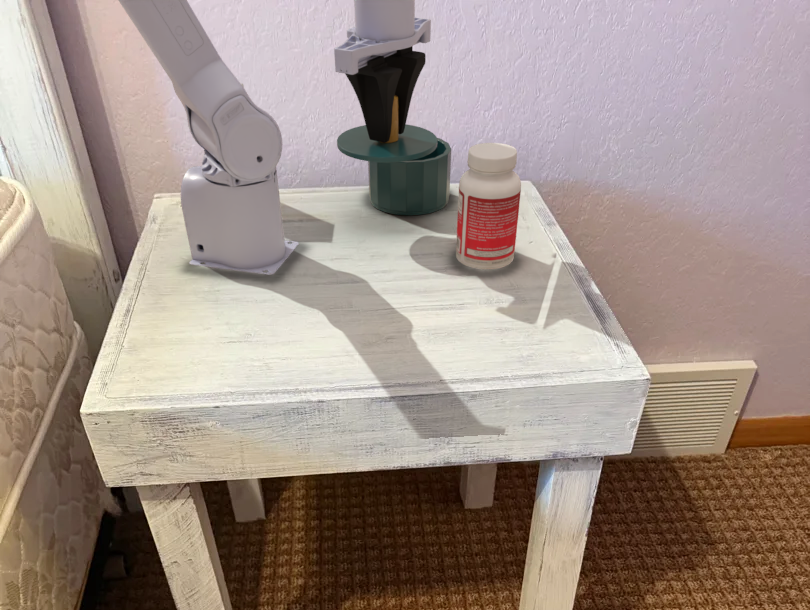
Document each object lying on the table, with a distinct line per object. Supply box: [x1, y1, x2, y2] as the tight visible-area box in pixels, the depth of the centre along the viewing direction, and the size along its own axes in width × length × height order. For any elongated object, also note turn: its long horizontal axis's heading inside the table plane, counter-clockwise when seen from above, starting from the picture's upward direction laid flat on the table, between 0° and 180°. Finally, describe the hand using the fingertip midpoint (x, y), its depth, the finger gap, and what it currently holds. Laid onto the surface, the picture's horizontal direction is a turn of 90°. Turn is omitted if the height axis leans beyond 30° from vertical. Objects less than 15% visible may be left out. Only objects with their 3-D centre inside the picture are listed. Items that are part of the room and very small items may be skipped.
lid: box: [336, 95, 438, 163], centre depth 79 cm, size 11×11×5 cm
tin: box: [367, 137, 452, 216], centre depth 91 cm, size 10×10×6 cm
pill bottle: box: [455, 142, 522, 270], centre depth 77 cm, size 6×6×11 cm
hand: (386, 136), depth 80 cm, fingers closed on lid, 2 cm apart
